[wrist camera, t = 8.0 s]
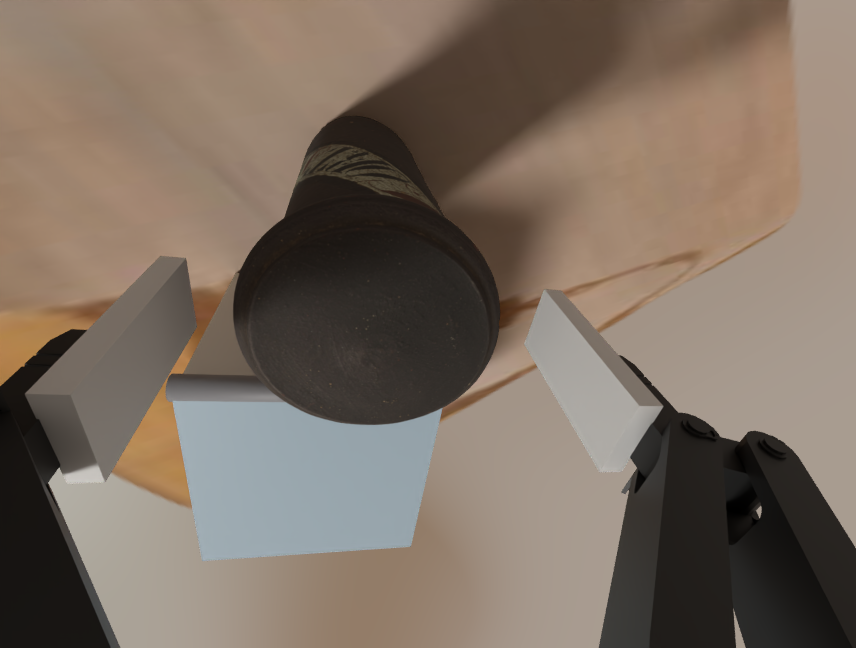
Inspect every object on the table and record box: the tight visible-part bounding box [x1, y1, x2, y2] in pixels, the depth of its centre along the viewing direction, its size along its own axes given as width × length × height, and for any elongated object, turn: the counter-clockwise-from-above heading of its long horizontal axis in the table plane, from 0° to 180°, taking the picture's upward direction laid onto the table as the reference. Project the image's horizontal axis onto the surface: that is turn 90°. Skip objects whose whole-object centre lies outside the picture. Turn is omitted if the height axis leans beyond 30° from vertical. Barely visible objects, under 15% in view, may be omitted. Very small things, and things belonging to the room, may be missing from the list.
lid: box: [166, 374, 442, 561], centre depth 25 cm, size 15×14×1 cm
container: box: [233, 116, 500, 425], centre depth 21 cm, size 9×9×20 cm
